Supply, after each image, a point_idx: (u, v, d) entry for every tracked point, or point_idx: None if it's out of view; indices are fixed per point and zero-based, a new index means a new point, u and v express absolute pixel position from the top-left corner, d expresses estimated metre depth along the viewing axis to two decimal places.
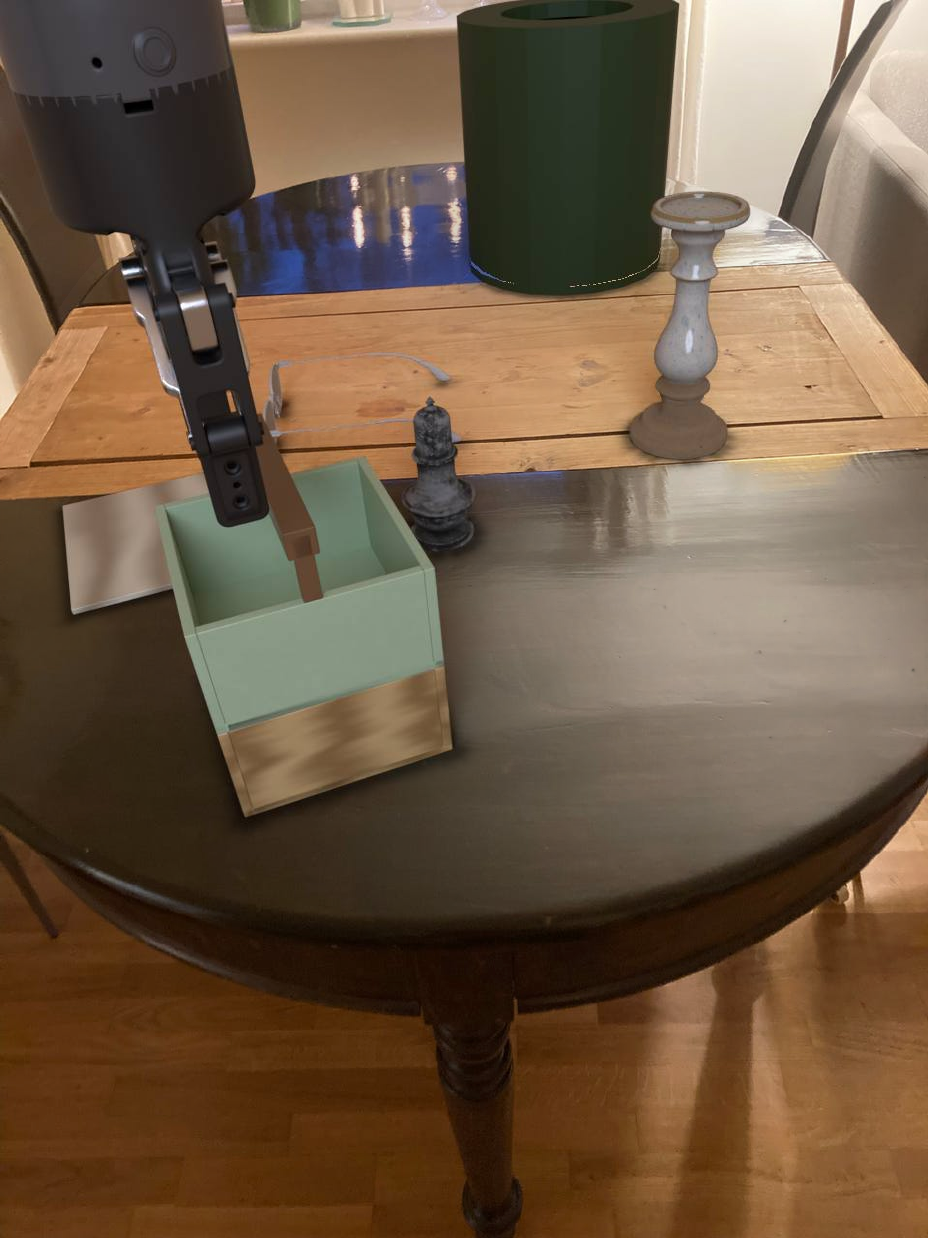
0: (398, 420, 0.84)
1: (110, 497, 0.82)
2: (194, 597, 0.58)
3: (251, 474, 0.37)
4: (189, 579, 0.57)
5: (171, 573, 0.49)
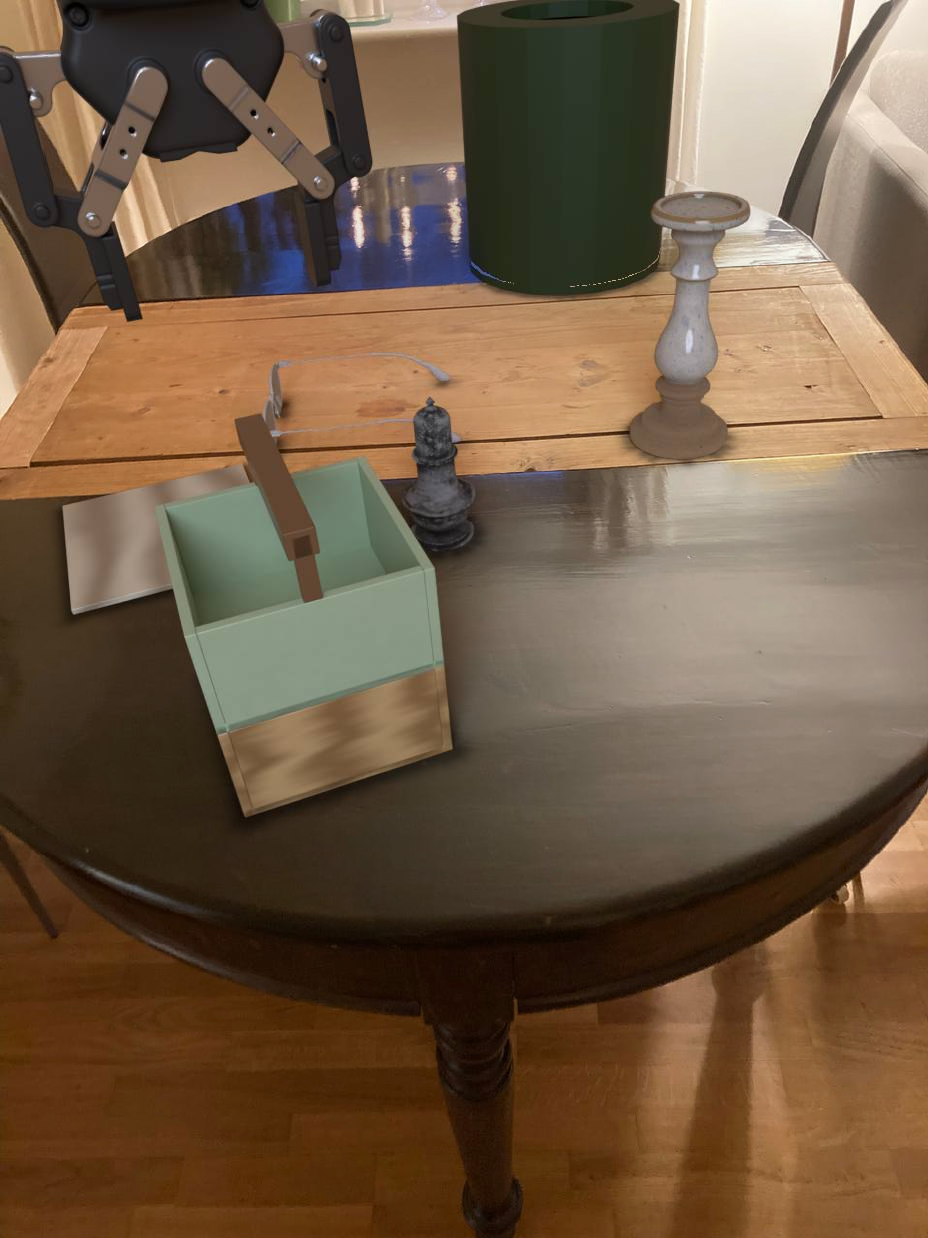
0: (398, 420, 0.84)
1: (110, 497, 0.82)
2: (194, 597, 0.58)
3: None
4: (189, 579, 0.57)
5: (171, 573, 0.49)
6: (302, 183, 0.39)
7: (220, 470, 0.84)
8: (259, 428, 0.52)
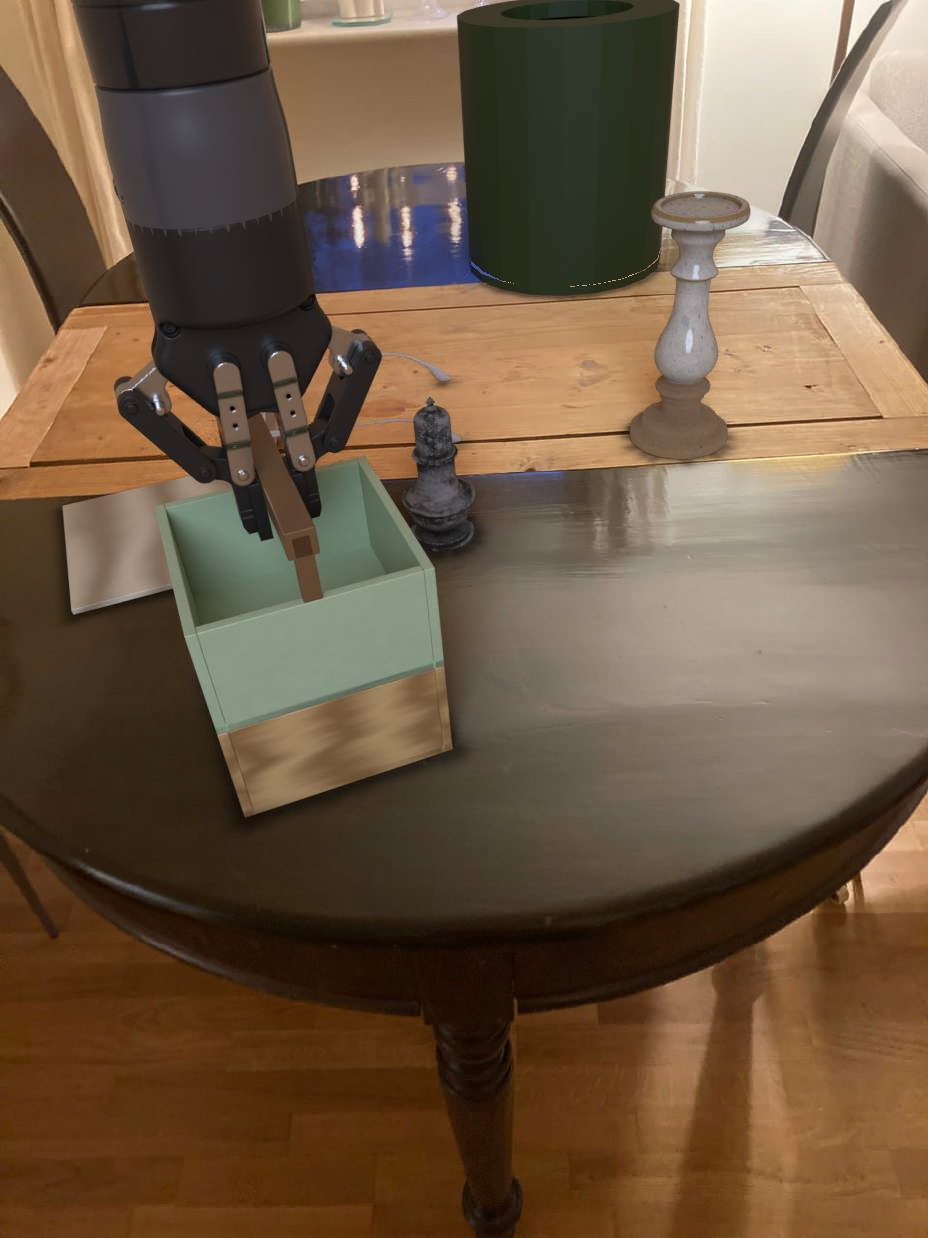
0: (398, 420, 0.84)
1: (110, 497, 0.82)
2: (194, 597, 0.58)
3: None
4: (189, 579, 0.57)
5: (171, 573, 0.49)
6: (291, 454, 0.47)
7: None
8: (259, 428, 0.52)
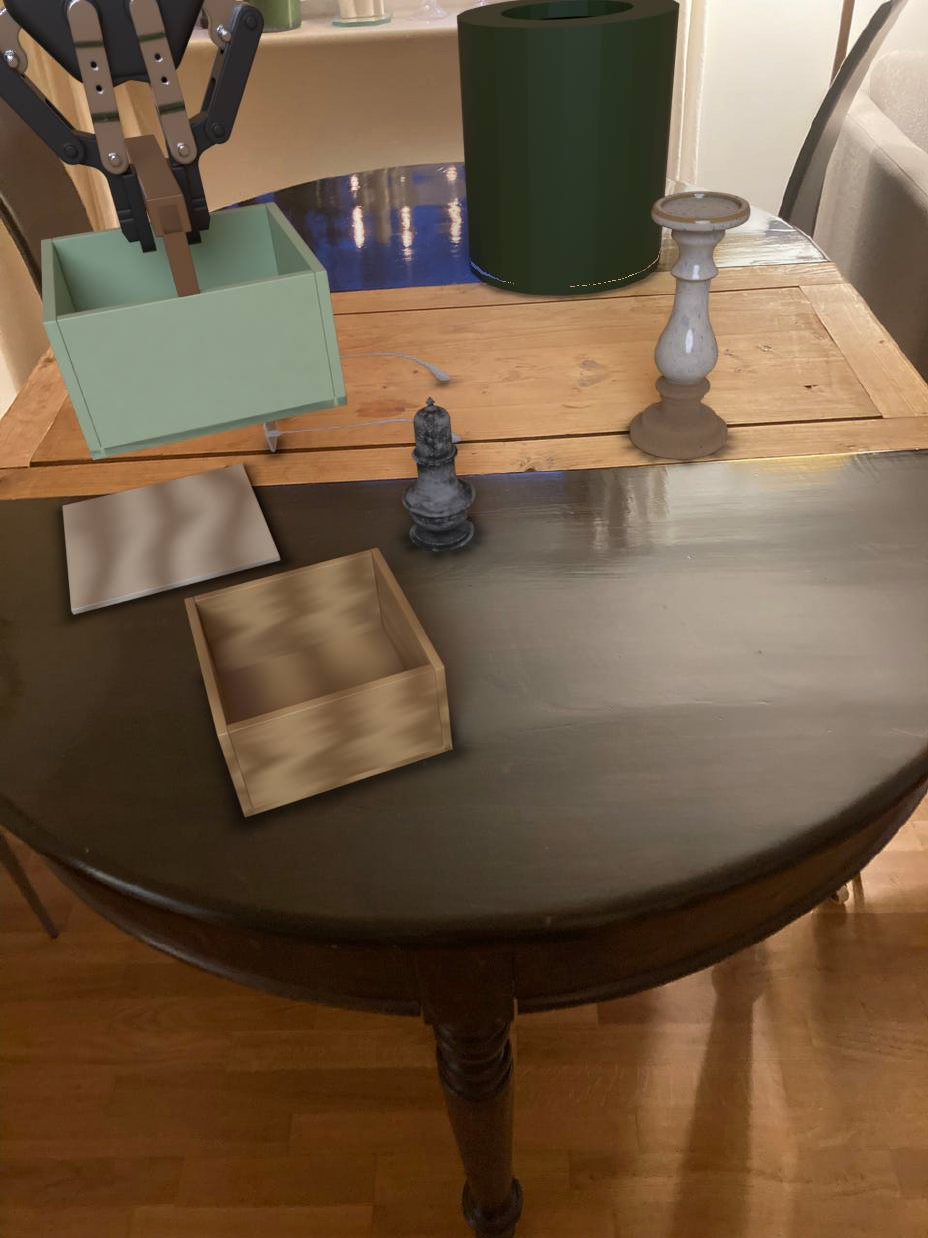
0: (398, 420, 0.84)
1: (110, 497, 0.82)
2: None
3: None
4: None
5: (43, 281, 0.45)
6: (168, 138, 0.43)
7: (220, 470, 0.84)
8: (148, 142, 0.48)
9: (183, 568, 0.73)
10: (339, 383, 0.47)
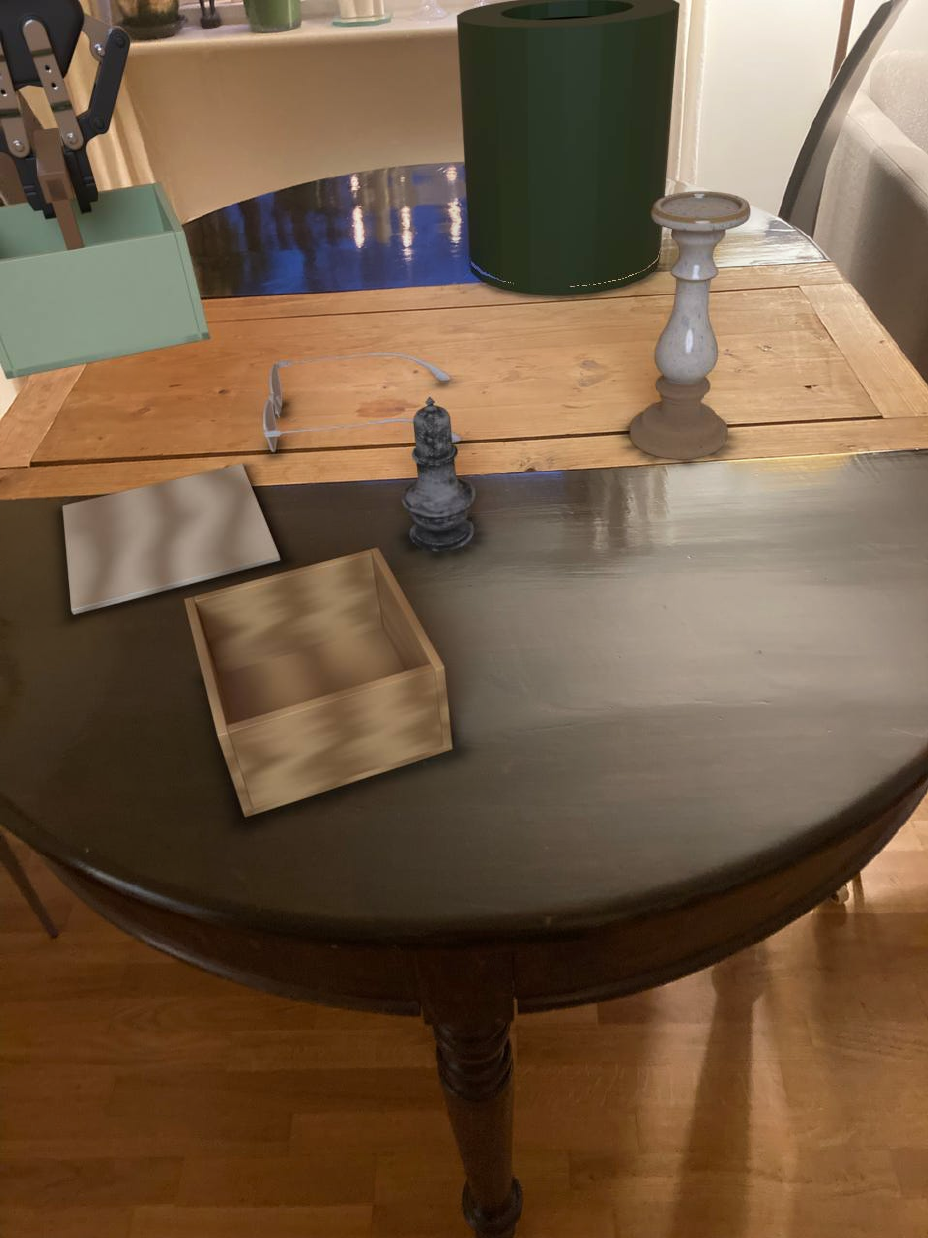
0: (398, 420, 0.84)
1: (110, 497, 0.82)
2: None
3: (89, 163, 0.59)
4: None
5: None
6: (60, 130, 0.56)
7: (220, 470, 0.84)
8: (51, 133, 0.61)
9: (183, 568, 0.73)
10: (202, 321, 0.61)
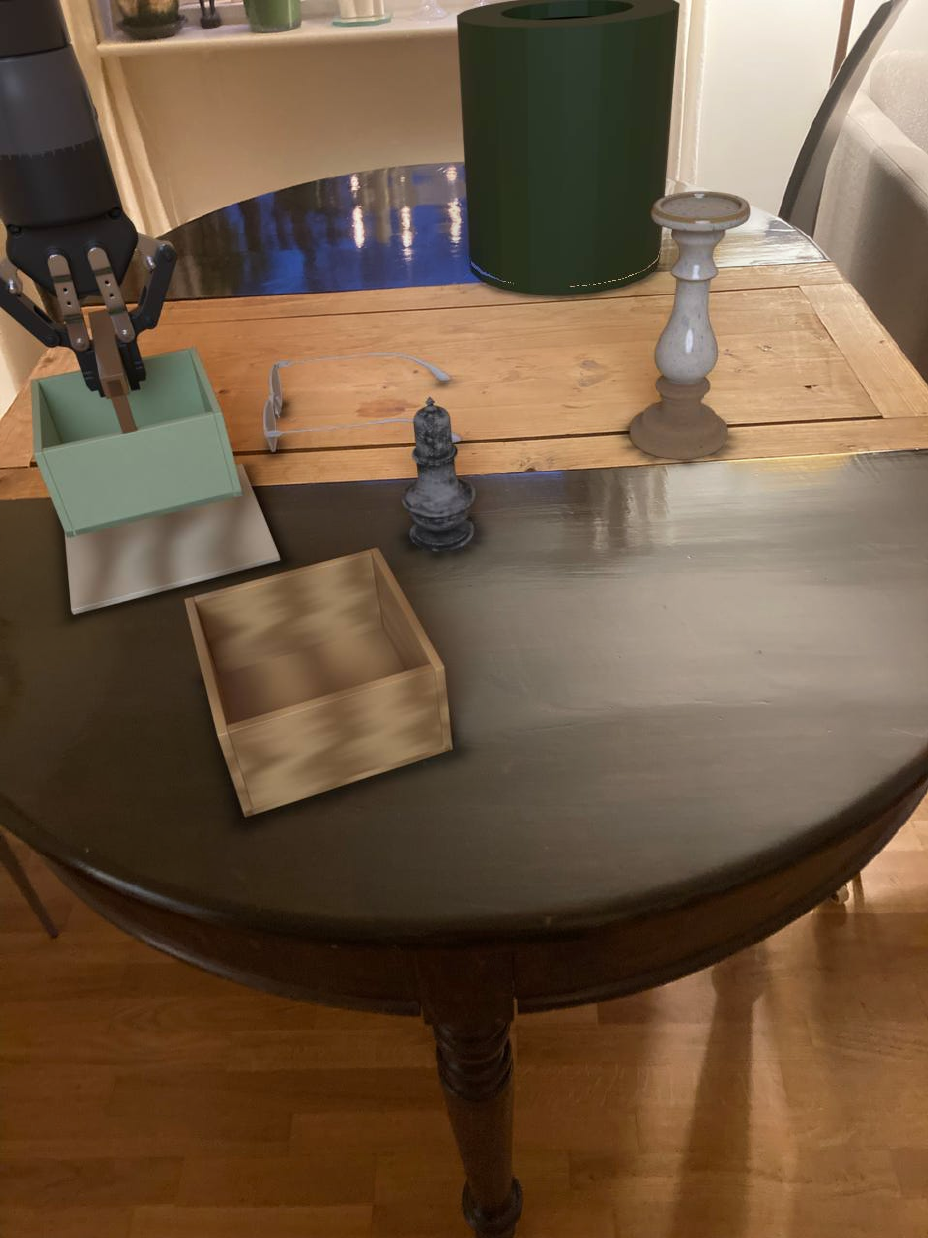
0: (398, 420, 0.84)
1: None
2: None
3: None
4: (62, 440, 0.75)
5: (33, 418, 0.67)
6: (115, 328, 0.65)
7: None
8: (104, 317, 0.70)
9: (183, 568, 0.73)
10: (236, 482, 0.70)
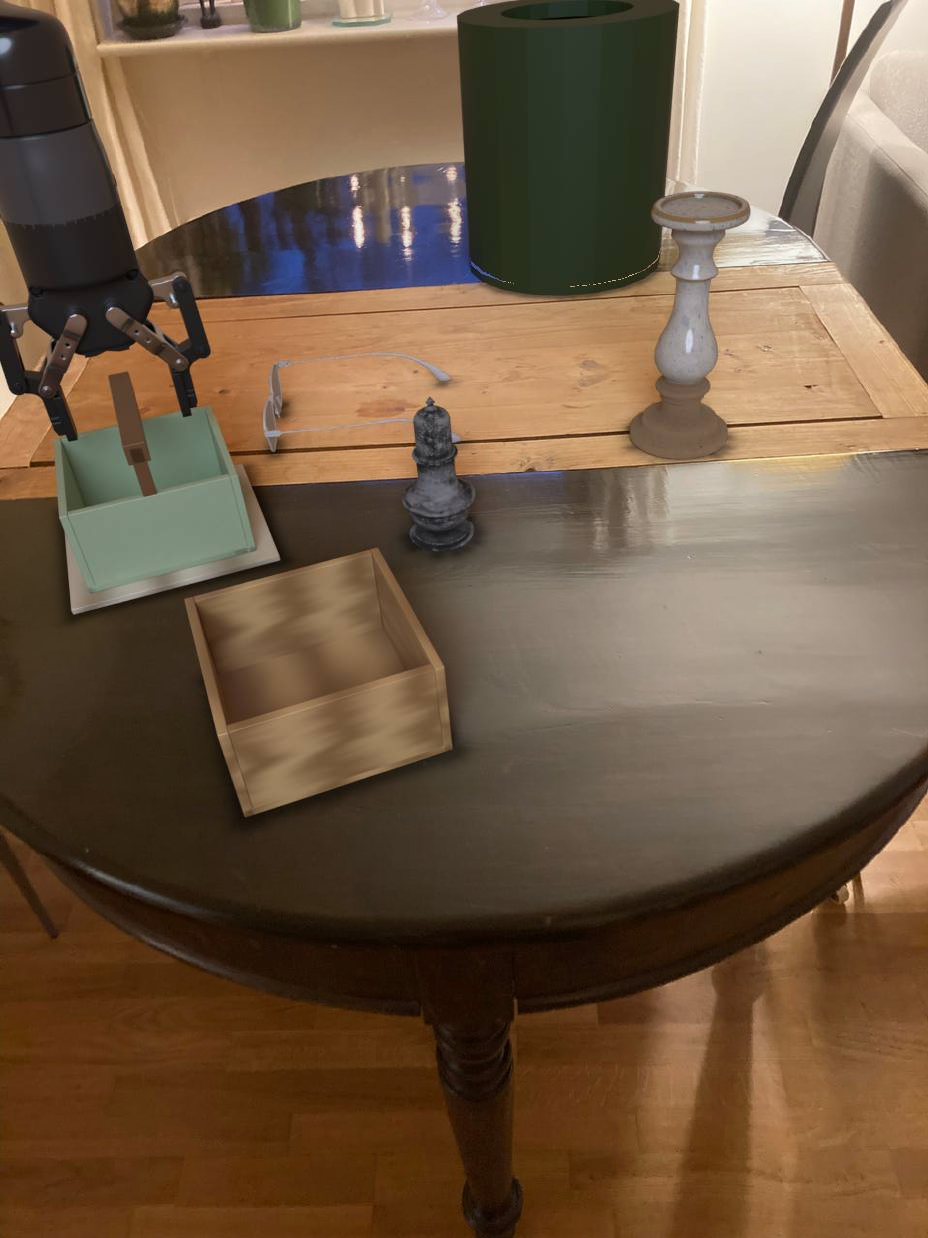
0: (398, 420, 0.84)
1: None
2: None
3: None
4: (82, 494, 0.79)
5: (57, 480, 0.70)
6: (169, 363, 0.68)
7: None
8: (124, 381, 0.73)
9: None
10: (250, 538, 0.73)
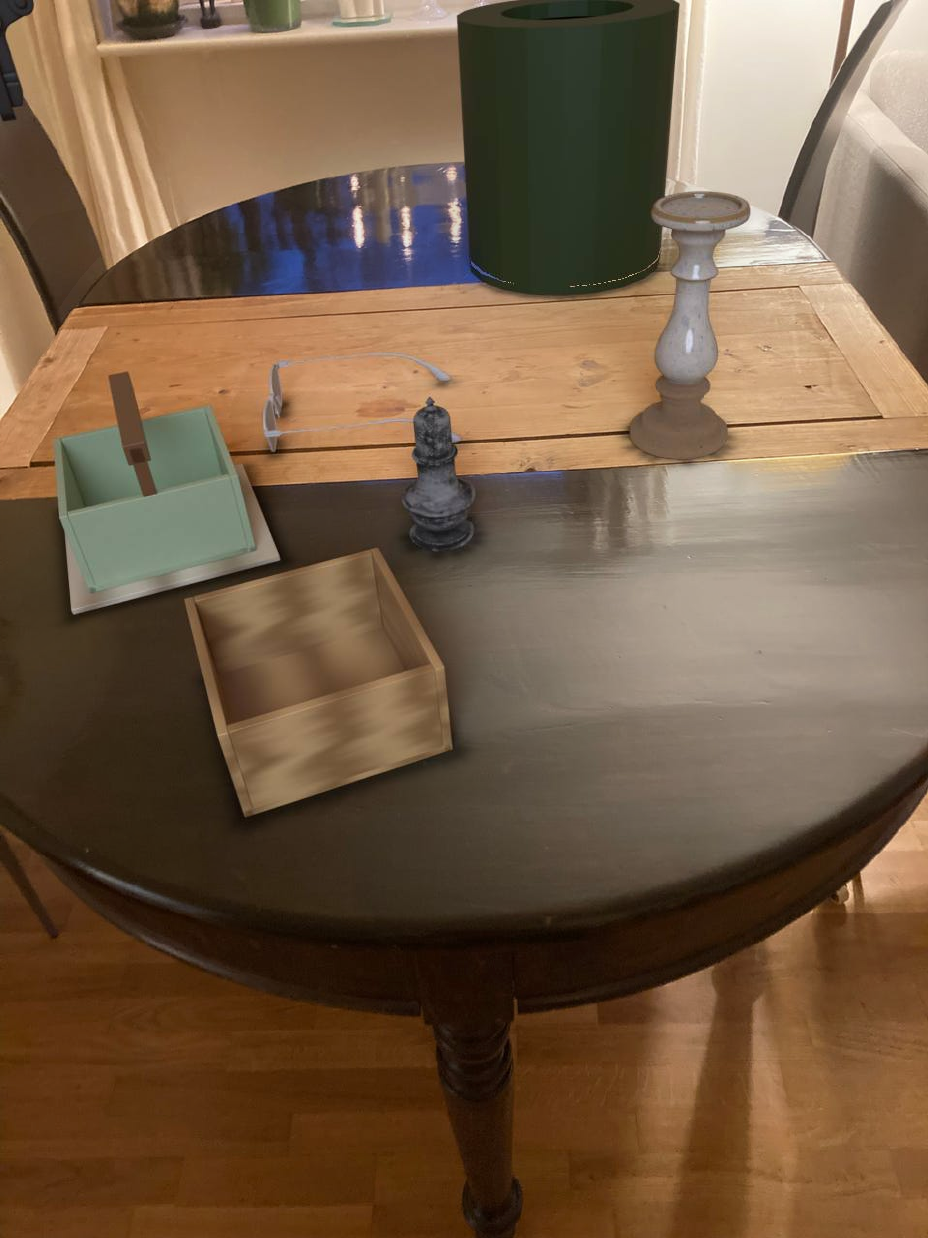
0: (398, 420, 0.84)
1: None
2: None
3: (12, 58, 0.48)
4: (82, 494, 0.79)
5: (57, 480, 0.70)
6: None
7: None
8: (124, 381, 0.73)
9: None
10: (250, 538, 0.73)
